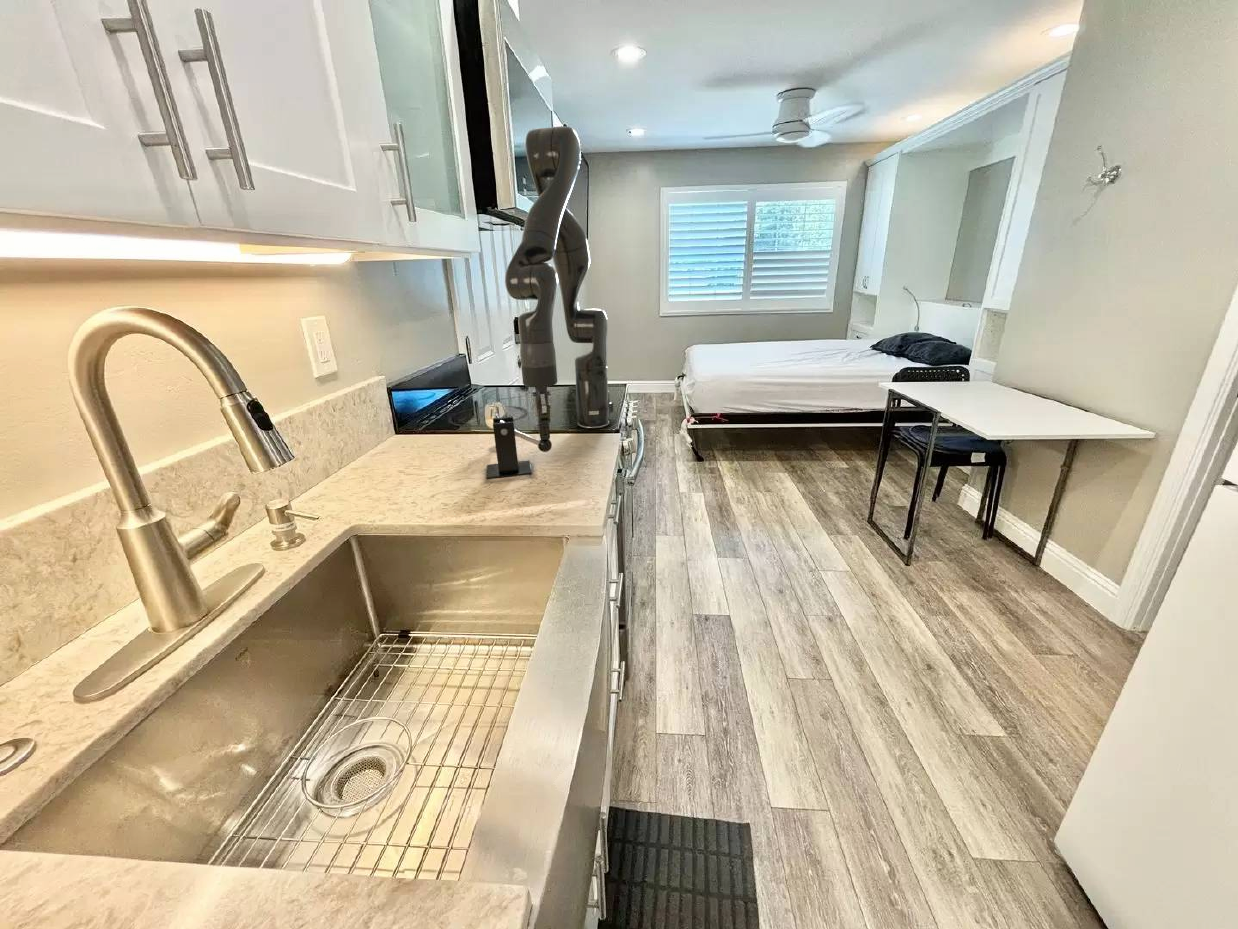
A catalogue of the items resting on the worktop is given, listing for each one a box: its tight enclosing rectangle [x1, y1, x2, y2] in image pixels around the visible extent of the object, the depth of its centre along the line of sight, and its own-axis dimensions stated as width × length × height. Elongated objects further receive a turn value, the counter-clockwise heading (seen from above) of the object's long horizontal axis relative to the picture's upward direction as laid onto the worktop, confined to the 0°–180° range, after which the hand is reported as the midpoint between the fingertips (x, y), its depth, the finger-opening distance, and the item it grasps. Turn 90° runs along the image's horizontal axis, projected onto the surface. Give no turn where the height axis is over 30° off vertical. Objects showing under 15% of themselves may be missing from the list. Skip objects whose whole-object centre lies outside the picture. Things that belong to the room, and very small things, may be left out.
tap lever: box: [499, 420, 553, 453], centre depth 111 cm, size 13×3×3 cm, turn 104°
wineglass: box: [483, 401, 508, 430], centre depth 127 cm, size 6×6×12 cm
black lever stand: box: [485, 416, 533, 480], centre depth 111 cm, size 10×8×13 cm
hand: (545, 438), depth 112 cm, fingers closed
